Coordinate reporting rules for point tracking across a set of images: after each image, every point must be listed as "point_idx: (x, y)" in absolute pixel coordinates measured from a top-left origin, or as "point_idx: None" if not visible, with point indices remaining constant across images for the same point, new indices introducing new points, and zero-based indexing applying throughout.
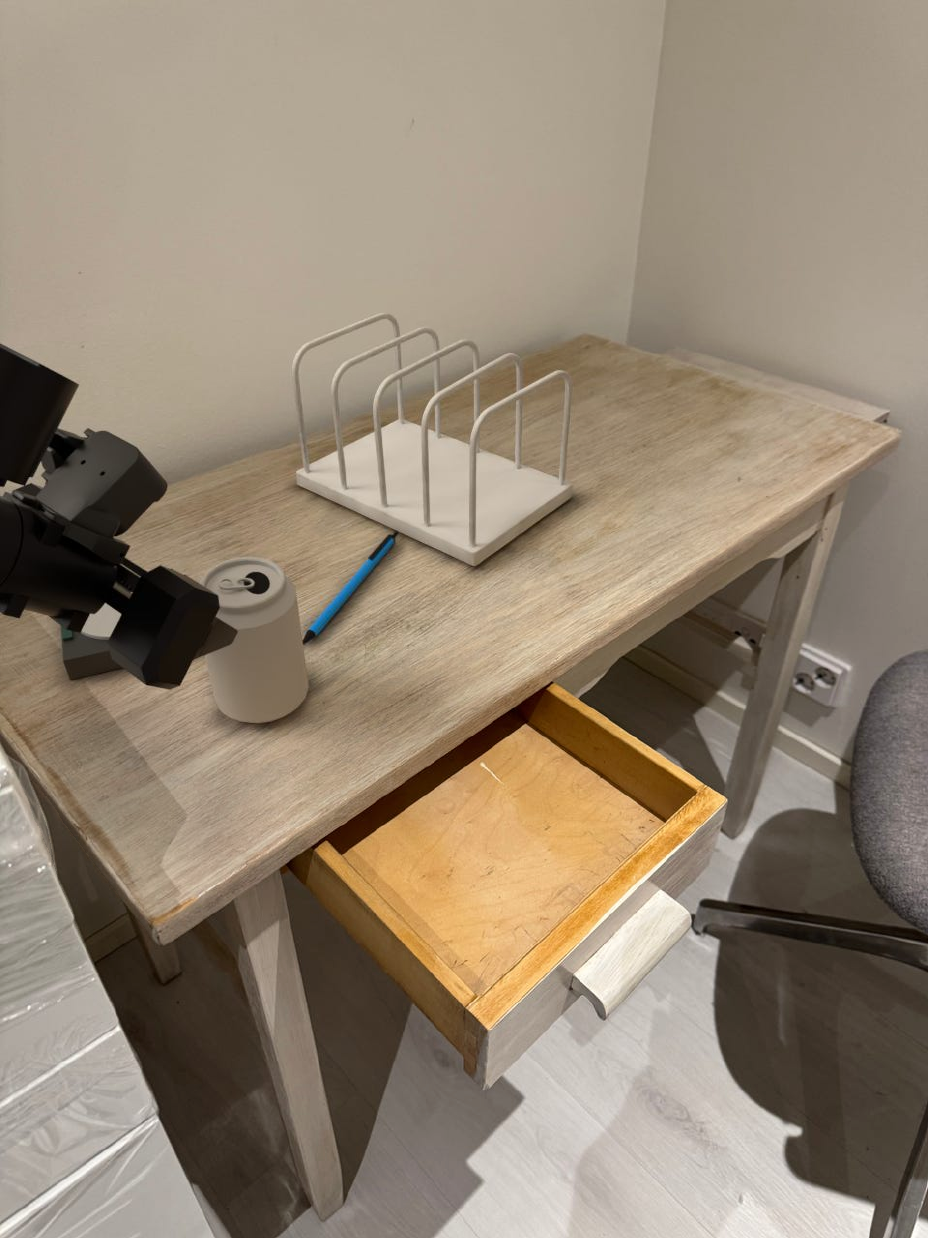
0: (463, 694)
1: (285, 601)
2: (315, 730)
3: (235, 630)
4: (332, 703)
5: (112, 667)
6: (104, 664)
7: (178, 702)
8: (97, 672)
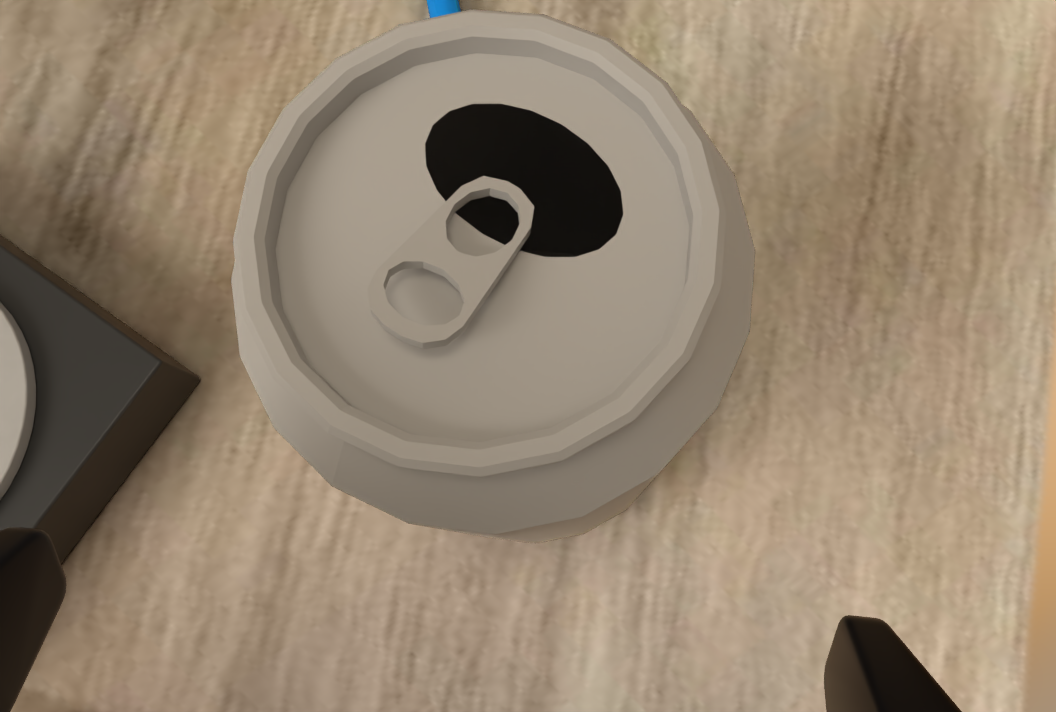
0: (1003, 49)
1: (720, 185)
2: (762, 407)
3: (901, 646)
4: None
5: None
6: None
7: (326, 566)
8: None
